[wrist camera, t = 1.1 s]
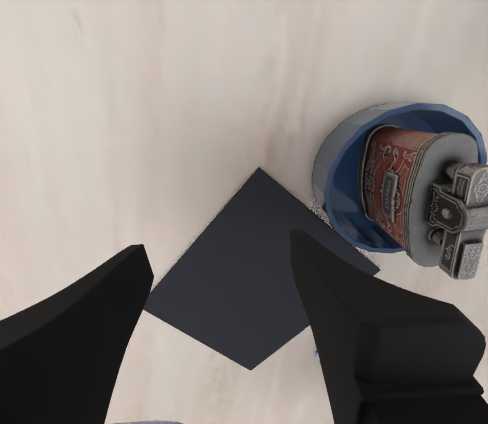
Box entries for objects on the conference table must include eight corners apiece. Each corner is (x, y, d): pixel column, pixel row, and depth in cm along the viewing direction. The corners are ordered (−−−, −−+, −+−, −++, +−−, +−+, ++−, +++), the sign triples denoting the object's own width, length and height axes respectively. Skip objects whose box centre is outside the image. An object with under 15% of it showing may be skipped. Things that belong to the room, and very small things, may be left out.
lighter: (358, 127, 19) (459, 147, 10) (402, 120, 19) (548, 133, 10) (356, 219, 22) (431, 298, 13) (394, 214, 22) (499, 291, 13)
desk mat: (378, 267, 25) (380, 270, 24) (250, 367, 31) (250, 370, 31) (258, 167, 21) (259, 168, 20) (140, 304, 27) (139, 307, 27)
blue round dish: (469, 165, 20) (517, 178, 17) (366, 249, 24) (388, 275, 20) (388, 71, 18) (424, 62, 14) (285, 181, 21) (293, 196, 18)
